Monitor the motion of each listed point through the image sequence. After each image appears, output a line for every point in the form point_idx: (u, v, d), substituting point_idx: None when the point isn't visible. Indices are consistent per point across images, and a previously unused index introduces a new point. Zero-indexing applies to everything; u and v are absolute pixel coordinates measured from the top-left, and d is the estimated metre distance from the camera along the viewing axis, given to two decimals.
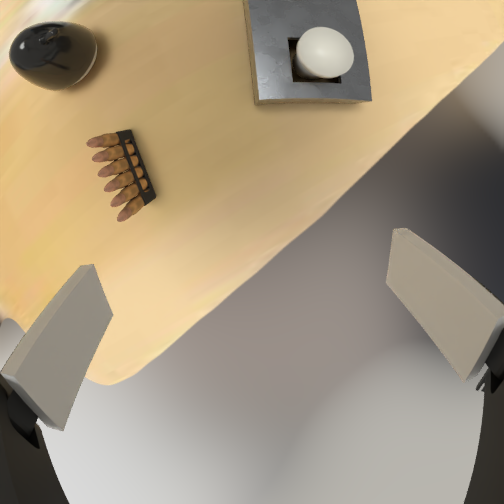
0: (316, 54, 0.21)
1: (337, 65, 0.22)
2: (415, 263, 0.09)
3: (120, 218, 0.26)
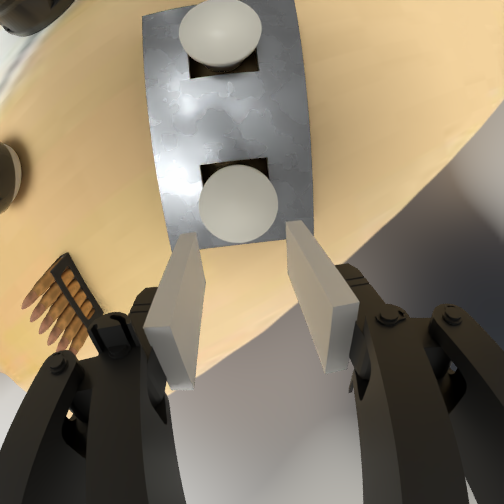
0: (222, 215, 0.21)
1: (252, 225, 0.21)
2: (295, 252, 0.11)
3: None
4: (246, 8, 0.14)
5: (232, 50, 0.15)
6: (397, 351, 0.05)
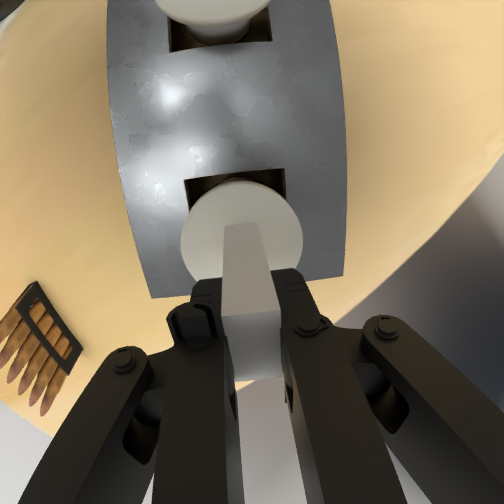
0: (218, 260, 0.13)
1: None
2: None
3: (42, 414, 0.18)
4: None
5: (233, 0, 0.08)
6: (317, 364, 0.05)
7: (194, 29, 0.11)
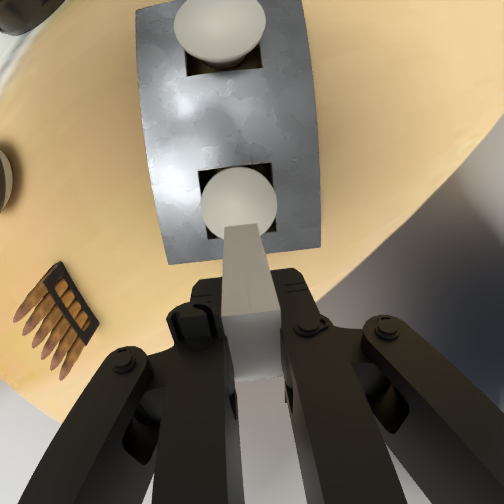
0: (223, 215, 0.21)
1: None
2: None
3: (62, 378, 0.23)
4: None
5: (233, 44, 0.14)
6: (317, 364, 0.05)
7: None
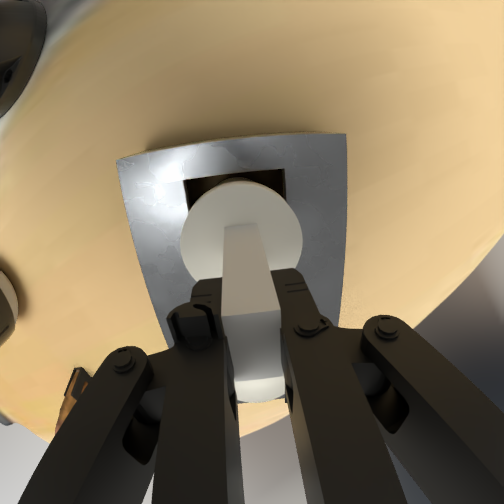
0: (245, 390, 0.22)
1: (270, 393, 0.22)
2: None
3: None
4: (282, 208, 0.13)
5: None
6: (317, 364, 0.05)
7: None
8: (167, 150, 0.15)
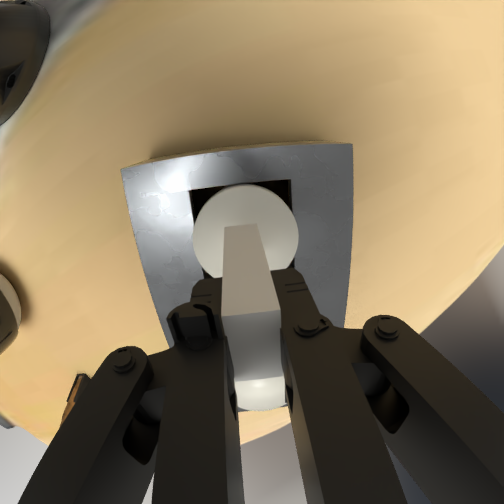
0: (249, 398, 0.21)
1: (274, 401, 0.22)
2: None
3: None
4: (280, 207, 0.15)
5: None
6: (317, 364, 0.05)
7: None
8: (172, 160, 0.15)
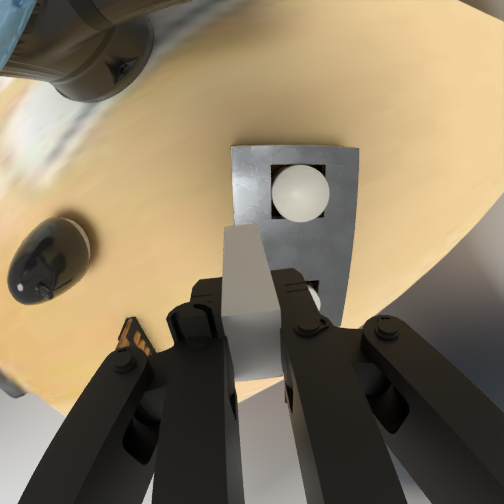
0: None
1: None
2: None
3: None
4: (321, 178, 0.27)
5: (308, 213, 0.28)
6: (317, 364, 0.05)
7: None
8: (263, 146, 0.27)
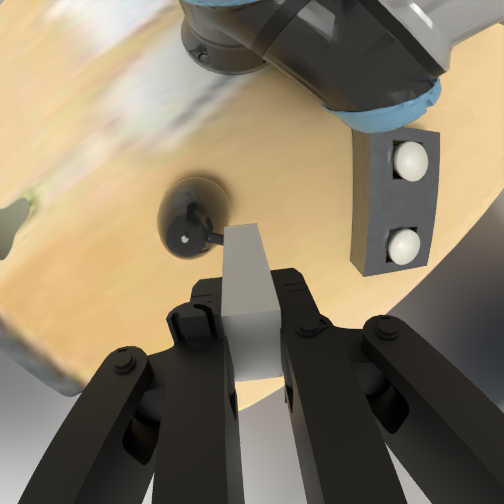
0: (399, 252, 0.39)
1: (409, 256, 0.40)
2: None
3: None
4: (423, 151, 0.33)
5: (416, 175, 0.34)
6: (317, 364, 0.05)
7: None
8: None
